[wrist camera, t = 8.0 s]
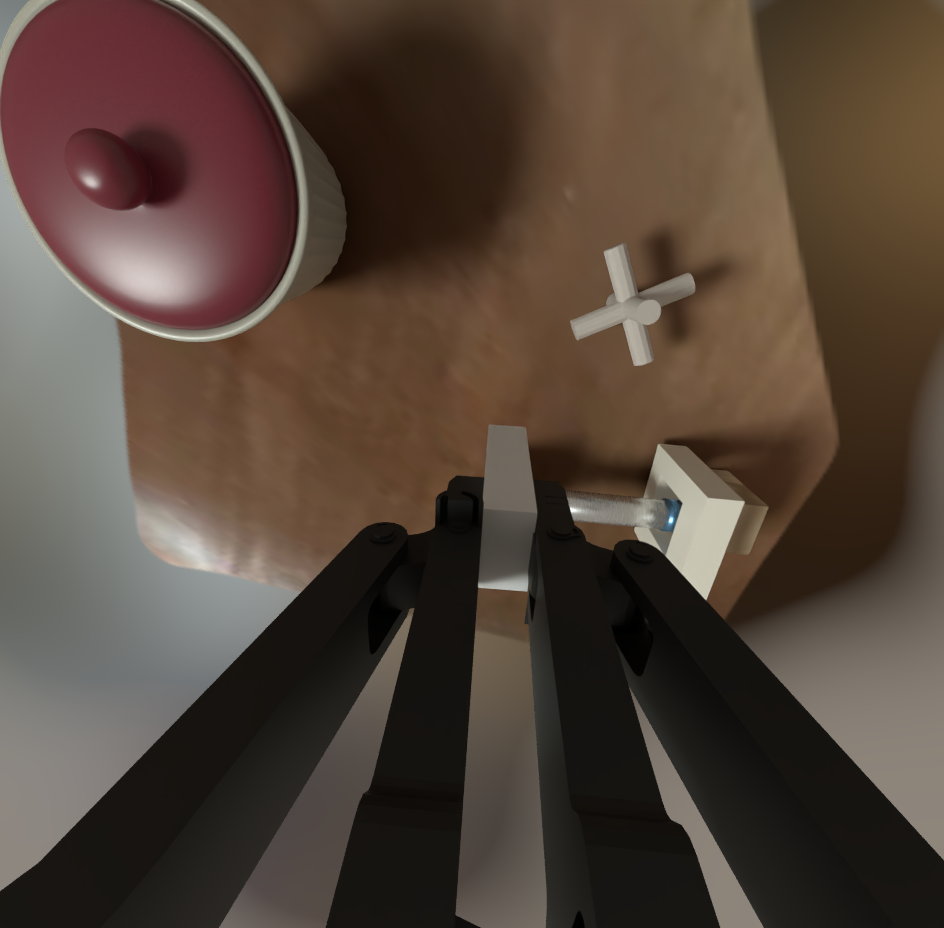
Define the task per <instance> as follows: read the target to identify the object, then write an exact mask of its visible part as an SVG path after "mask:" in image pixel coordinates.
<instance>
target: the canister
mask: <svg viewBox="0 0 944 928" xmlns="http://www.w3.org/2000/svg"><path fill="white" fill-rule="evenodd" d="M0 158H1V162H2V166H3V169H4V172H5V175H6V178H7V181H8V184H9V186H10V189H11V191H12V194H13V196H14V198H15V201H16V203H17V205H18V207H19V209H20V211H21V213H22V215H23V217H24V219H25V221H26V223H27V224H28V226H29V228H30V230H31V231H32V233H33V234H34V236H35V238H36V239H37V241H38V242H39V244H40V245H41V246H42V248H43V249H44V251H45V252H46V253H47V255H48V256H49V257H50V259H51V260H52V261H53V262H54V264H55V265H56V266H57V267H58V268H59V269H60V271H61V272H62V273H63V274H64V275H65V276H66V277H67V278H68V279H69V280H70V281H71V282H72V283H73V284H74V285H75V286H76V287H77V288H78V289H79V290H80V291H81V292H82V293H84V294H85V295H86V296H87V297H88V298H90V299H91V300H92V301H93V302H95V303H96V304H97V305H98V306H100V307H101V308H103V309H104V310H105V311H107V312H108V313H110V314H112V315H113V316H115V317H116V318H118V319H120V320H122V321H123V322H125V323H127V324H129V325H131V326H133V327H135V328H138V329H140V330H142V331H145V332H147V333H150V334H153V335H156V336H160V337H163V338H168V339H172V340H178V341H187V342H206V341H215V340H220V339H225V338H229V337H232V336H235V335H238V334H240V333H243V332H245V331H247V330H249V329H251V328H252V327H254V326H256V325H257V324H259V323H260V322H262V321H263V320H264V319H265V318H267V317H268V316H269V315H270V314H271V313H272V312H273V311H274V310H275V309H276V308H277V307H278V306H279V305H281V304H283V303H285V302H288V301H290V300H292V299H294V298H296V297H298V296H300V295H302V294H304V293H306V292H307V291H309V290H311V289H312V288H313V287H314V286H316V285H317V284H319V283H321V282H322V281H323V279H324V278H325V277H326V276H327V275H328V274H330V273H331V270H332V268H333V267H334V265H336V264H337V262H338V258H339V256H340V254H341V253H342V247H343V244H344V242H345V233H346V228H347V224H346V215H347V212H346V209H345V198H344V196H343V194H342V191H341V184H340V182H339V181H338V179H337V177H336V175H335V171H334V168H333V167H332V166H331V164H330V163H329V162H328V159H327V157H326V155H325V154H324V152H323V151H322V150H321V148H320V147H319V146H318V145H317V143H316V142H315V141H314V139H313V138H312V137H311V136H310V134H309V133H308V132H307V131H306V129H305V128H304V127H303V126H302V124H301V123H300V122H299V121H298V120H297V118H296V117H295V116H294V115H293V114H292V113H291V111H290V110H289V109H288V108H287V107H286V106H285V104H284V102H283V100H282V98H281V96H280V95H279V93H278V91H277V89H276V87H275V86H274V84H273V82H272V81H271V79H270V77H269V76H268V74H267V73H266V71H265V70H264V68H263V67H262V65H261V64H260V63H259V61H258V60H257V58H256V57H255V56H254V54H253V53H252V52H251V51H250V50H249V48H248V47H247V46H246V45H245V44H244V42H243V41H242V40H241V39H240V38H239V37H238V36H237V35H236V34H235V33H234V32H233V31H232V30H231V29H230V28H229V27H228V26H227V25H226V24H225V23H224V22H223V21H222V20H221V19H219V18H218V17H217V16H216V15H215V14H214V13H212V12H211V11H210V10H209V9H207V8H206V7H205V6H203V5H202V4H201V3H199V2H198V1H196V0H29V1H28V2H27V4H26V5H25V6H24V7H23V8H22V9H21V11H20V12H19V13H18V15H17V16H16V18H15V19H14V21H13V23H12V24H11V26H10V28H9V30H8V32H7V34H6V36H5V39H4V41H3V44H2V47H1V50H0Z"/></svg>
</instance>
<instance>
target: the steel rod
mask: <svg viewBox="0 0 944 928" xmlns="http://www.w3.org/2000/svg"><path fill="white" fill-rule="evenodd" d="M565 492H566V495H567V499H568V503H569V506H570V510H571V514H572V517H573V521H580V522H590V523H600V524H610V525H620V526H631V527H641V528H651V529H659V530H660V531H666V532H674V529H675V525H676V522H677V519H678V516H679V513H680V510H681V507H682V504H683V503H682V502H681V501H680V500H677V499H667V498H662V499H652V498H641V497H631V496H621V495H611V494H600V493H590V492H580V491H569V490H565Z"/></svg>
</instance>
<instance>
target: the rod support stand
mask: <svg viewBox="0 0 944 928" xmlns="http://www.w3.org/2000/svg"><path fill="white" fill-rule="evenodd" d="M711 470H712V471H713V472H714V473H715V474H716V475H717V476H719V477H720V478H721V479H722V480H723V481H724V482H725V483H726V484H727V485H728V486H729V487H730V488H731V489H732V490H733V491H734V492H735V493H736V494H738V495H739V496H740V497H741V498H742V499H743V500H744V501H745V502H744V505H743V508H742V510H741V513H740V515H739V518H738V520H737V523H736V525H735V528H734V531H733V533H732V536H731V538H730V541H729V543H728V546H727V548H726V551H725V552H727V553H737V554H747V555H749V553H750V551H751V548H752V546H753V543H754V541H755V539H756V536H757V534H758V532H759V529H760V527H761V524H762V522H763V520H764V517H765V515H766V513H767V510H768V508H769V507H768V506H767V505H766V504H765V503H764V502H763V501H762V500H761V499H759V498H758V497H757V496H756V495H755V494H754V493H753V492H751V491H750V490H749V489H748V488H747V487H746V486H745V485H744V484H742V483H741V482H740V481H739V480H738V479H737V478H736V477H734V476H733V475H732V474H731V473H730V472H729V471H725V470H714V469H711Z"/></svg>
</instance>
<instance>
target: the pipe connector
mask: <svg viewBox="0 0 944 928" xmlns="http://www.w3.org/2000/svg"><path fill="white" fill-rule="evenodd" d="M604 255H605V259H606V262H607V266H608V270H609V274H610V277H611V281H612V285H613V289H614V292H615V293H613V294H611V295H610V296H609V297H608V299H607V301H606V306H605V307H603V308H600V309H598V310H595V311H593V312H591V313H588V314H586V315H583V316H581V317H578V318H576V319H573V320H571V326H572V329H573V332H574V335H575V337H576V339H577V340H579V339H582V338H584V337H587V336H589V335H592V334H594V333H597V332H599V331H602V330H604V329H607V328H609V327H612V326H614V325H617V324H619V323H622V322H623V326H624V330H625V333H626V337H627V341H628V344H629V348H630V352H631V356H632V359H633V363H634V365H635V366H639V365H644V364H647V363H649V362H652V361H653V360H654V359H655V358H654V354H653V350H652V346H651V342H650V338H649V334H648V330H647V326H646V325H650V324H652V323H654V322H655V321H657V319H658V318H659V316H660V314H661V307H662V306H664V305H667V304H669V303H672V302H674V301H677V300H679V299H682V298H684V297H687V296H689V295H692V294H694V293H695V283H694V279H693V277H692V275H691V274H690V273H685V274H683V275H681V276H678V277H676V278H673V279H671V280H668V281H666V282H664V283H661V284H659V285H656V286H654V287H651V288H649V289H647V290H644V291H642V292H639V293H638V290H637V286H636V282H635V278H634V274H633V270H632V266H631V262H630V258H629V253H628V249H627V245H626V242H624V243H621V244H619V245H616V246H614V247H612V248H609V249H607V250H605V251H604Z"/></svg>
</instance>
